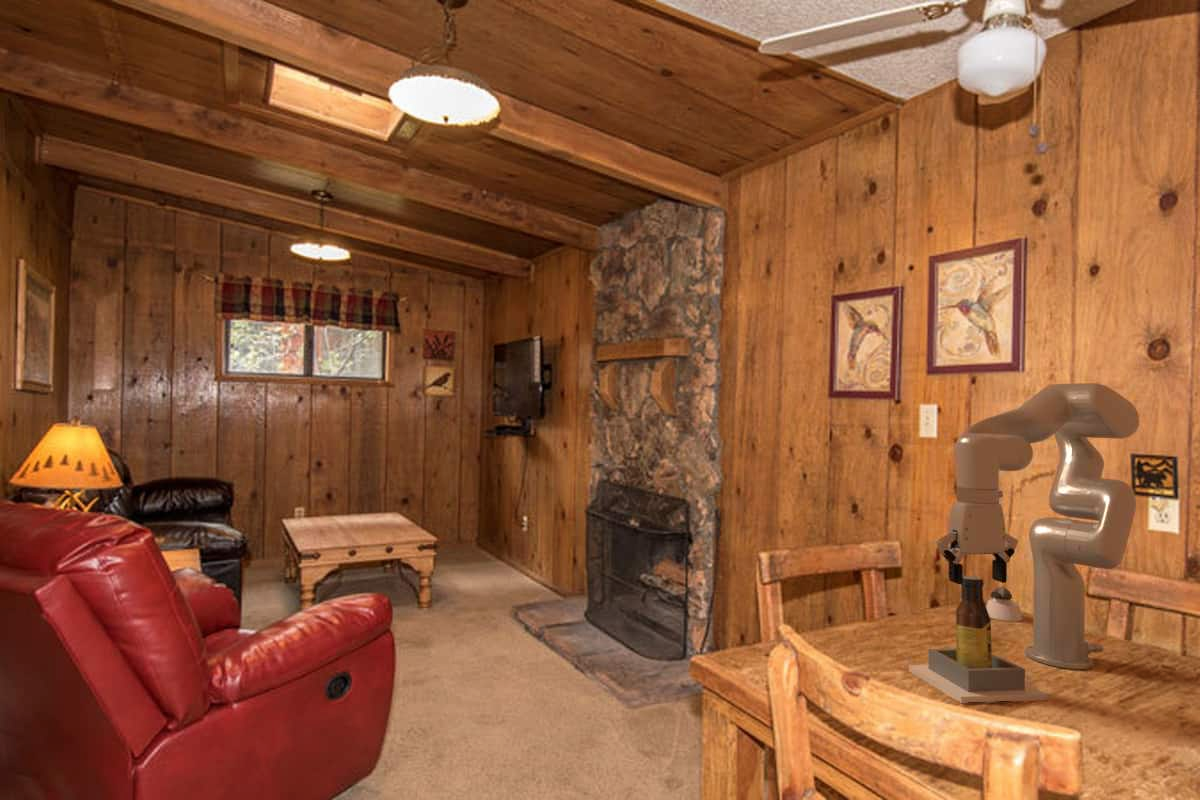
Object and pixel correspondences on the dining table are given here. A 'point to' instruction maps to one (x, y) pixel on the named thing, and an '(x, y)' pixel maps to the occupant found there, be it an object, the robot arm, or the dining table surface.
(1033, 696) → the bottle stand
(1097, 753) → the dining table surface
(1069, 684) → the dining table surface
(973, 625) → the sauce bottle
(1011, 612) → the inkwell
